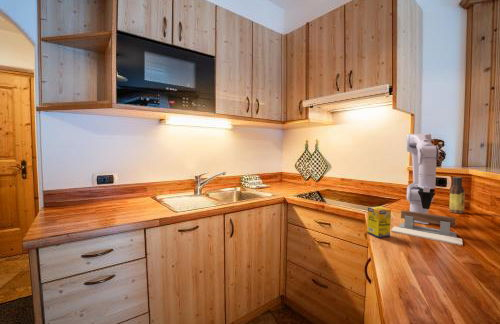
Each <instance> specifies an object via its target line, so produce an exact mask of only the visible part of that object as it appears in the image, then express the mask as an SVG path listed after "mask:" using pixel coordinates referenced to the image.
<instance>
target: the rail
mask: <svg viewBox="0 0 500 324" xmlns="http://www.w3.org/2000/svg"><path fill="white" fill-rule="evenodd" d="M405 216H411V217H413V220H416V221H422V222H428V223H429V224H435V225H440V221H443V222H450V227H453V228H454V227H456V217H453V216H445V215H439V214H433V213H431V214H430V213H428V214H426V213H418V212H411V211H410V210H405V209H403V210H401V211H400V219H403V220H405Z"/></svg>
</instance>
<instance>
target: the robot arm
mask: <svg viewBox="0 0 500 324" xmlns="http://www.w3.org/2000/svg"><path fill="white" fill-rule="evenodd" d="M405 139H406V140H405V142H406V143H405V146H406V151H407V152H409V153H410V155H411V159H412V163H411V164H412V182H411V183H410V184H408V185H407V187H406V201H408V202H409V211H411V212H418V213H426V214H429V210H430V207H431V204H432V203H433V202H434V196H435V195H436V192H435V190H436V189H437V185H436V183H437V182H436V180H437V179H436V178H437V160H438V159H439V155H440V151H439V150H440V149H439V146H438V145H433V143H432V134H431V133H430V132H428V133H407V135H406V138H405ZM414 223H415V224H416V223H417V224H423V225H429V224H430V223H428V222H422V221H416V220H414Z"/></svg>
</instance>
